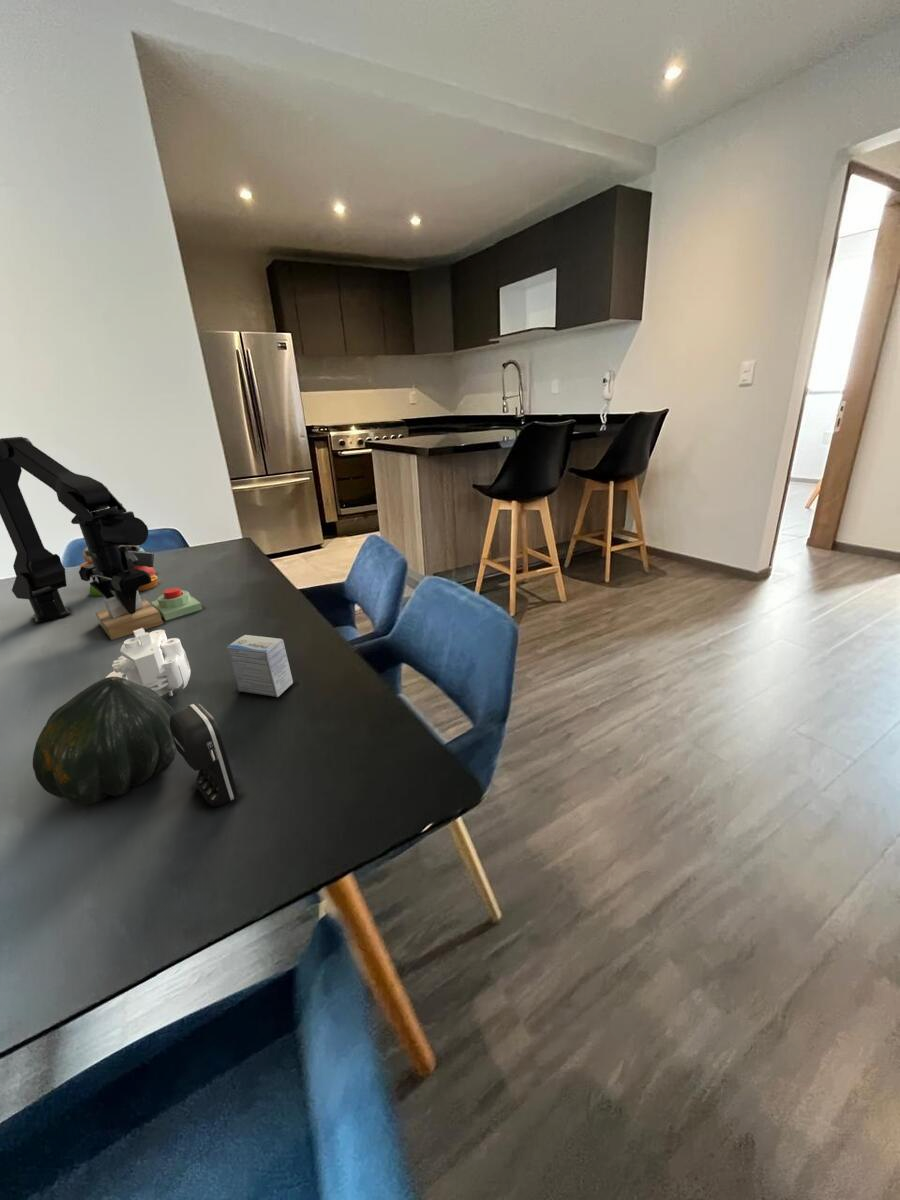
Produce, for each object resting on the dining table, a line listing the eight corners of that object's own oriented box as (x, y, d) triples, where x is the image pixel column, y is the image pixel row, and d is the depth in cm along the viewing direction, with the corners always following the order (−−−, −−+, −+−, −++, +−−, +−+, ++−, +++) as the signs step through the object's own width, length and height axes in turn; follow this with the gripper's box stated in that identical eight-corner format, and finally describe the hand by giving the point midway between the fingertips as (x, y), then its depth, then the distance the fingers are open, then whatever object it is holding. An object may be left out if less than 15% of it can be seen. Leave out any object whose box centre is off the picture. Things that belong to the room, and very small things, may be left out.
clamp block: (98, 625, 111) (93, 612, 110) (150, 609, 118) (146, 597, 117) (109, 640, 103) (104, 627, 102) (164, 623, 110) (160, 610, 108)
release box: (152, 608, 118) (148, 595, 117) (187, 598, 123) (183, 585, 122) (166, 620, 111) (161, 606, 110) (202, 609, 116) (198, 595, 115)
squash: (-3, 764, 59) (14, 697, 52) (116, 699, 72) (143, 639, 65) (79, 847, 59) (107, 792, 51) (184, 767, 72) (219, 714, 64)
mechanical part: (120, 692, 83) (96, 630, 79) (197, 674, 88) (179, 614, 83) (106, 729, 74) (79, 660, 69) (194, 707, 78) (173, 641, 73)
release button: (163, 597, 116) (161, 590, 115) (179, 593, 118) (177, 586, 118) (167, 601, 114) (165, 594, 113) (184, 596, 116) (182, 589, 115)
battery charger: (187, 787, 61) (161, 711, 57) (218, 770, 64) (195, 696, 59) (208, 816, 57) (181, 736, 52) (241, 798, 59) (217, 719, 55)
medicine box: (294, 684, 83) (284, 638, 79) (277, 698, 79) (266, 651, 75) (255, 678, 85) (244, 633, 82) (237, 692, 81) (225, 646, 78)
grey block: (113, 618, 106) (106, 600, 105) (109, 616, 107) (103, 599, 105) (143, 607, 111) (137, 589, 110) (139, 606, 112) (134, 588, 110)
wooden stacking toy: (146, 593, 128) (131, 547, 124) (82, 597, 129) (65, 551, 124) (181, 570, 145) (169, 529, 140) (125, 573, 146) (111, 533, 141)
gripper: (165, 538, 105) (184, 605, 111) (121, 530, 114) (141, 592, 120) (109, 552, 96) (134, 624, 102) (66, 543, 105) (91, 609, 111)
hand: (126, 611), depth 109 cm, fingers open, 5 cm apart
